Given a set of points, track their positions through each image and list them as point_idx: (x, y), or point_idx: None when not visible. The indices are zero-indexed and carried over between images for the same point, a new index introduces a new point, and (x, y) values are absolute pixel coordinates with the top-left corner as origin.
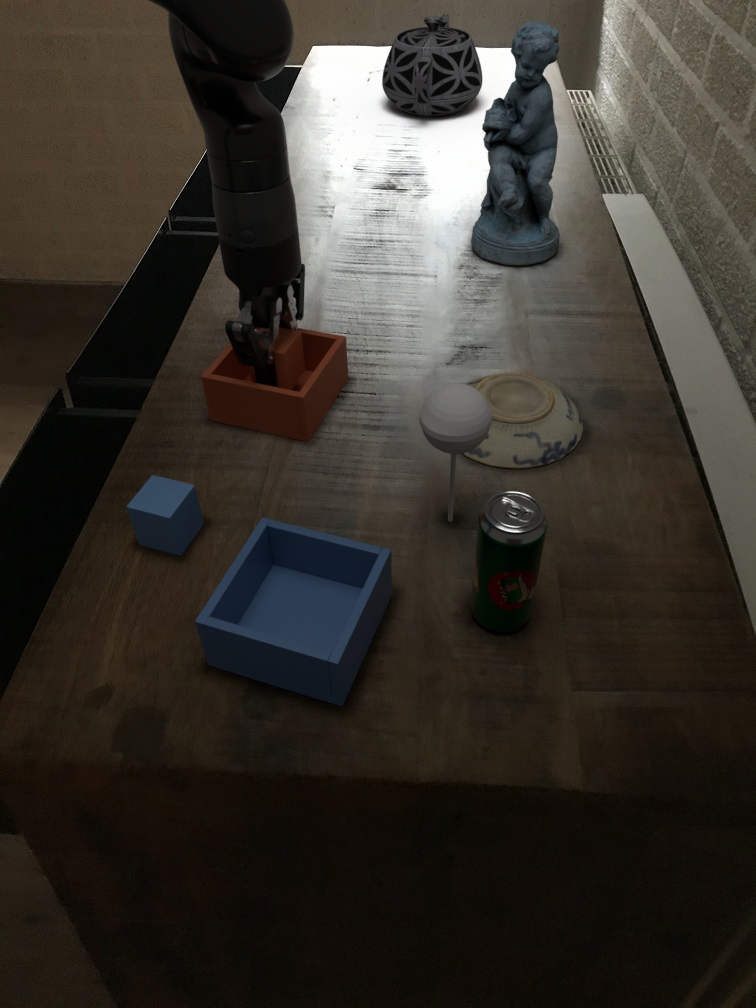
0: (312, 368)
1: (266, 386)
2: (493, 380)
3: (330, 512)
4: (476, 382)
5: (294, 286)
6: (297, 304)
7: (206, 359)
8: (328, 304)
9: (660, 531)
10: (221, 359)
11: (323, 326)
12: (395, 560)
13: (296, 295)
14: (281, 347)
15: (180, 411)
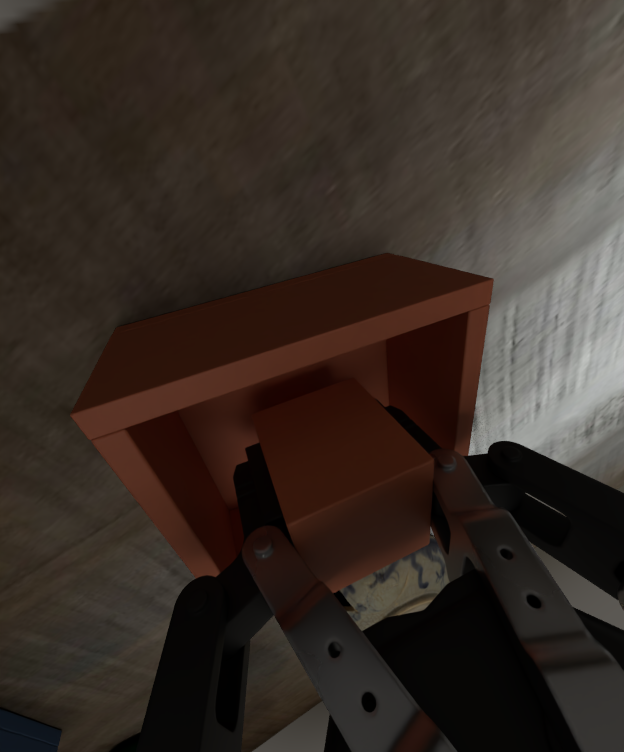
0: (392, 404)
1: (208, 568)
2: (424, 606)
3: (110, 629)
4: (421, 586)
5: (613, 582)
6: (530, 537)
7: (345, 73)
8: (602, 245)
9: (306, 697)
10: (230, 387)
11: (532, 291)
12: (111, 697)
13: (568, 558)
14: (338, 579)
15: (65, 205)
